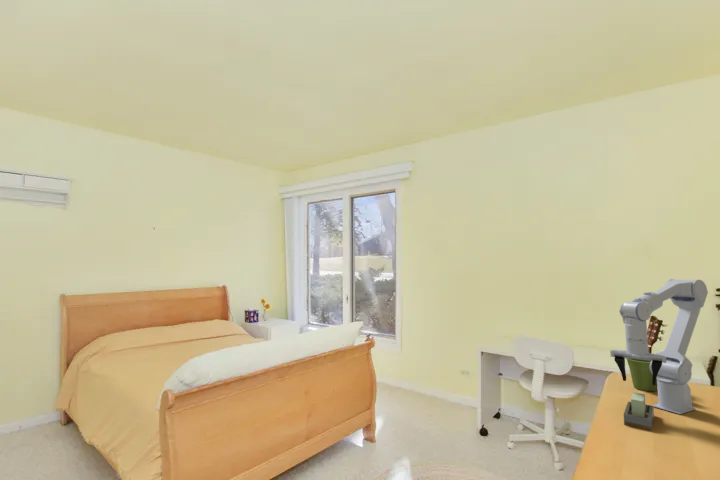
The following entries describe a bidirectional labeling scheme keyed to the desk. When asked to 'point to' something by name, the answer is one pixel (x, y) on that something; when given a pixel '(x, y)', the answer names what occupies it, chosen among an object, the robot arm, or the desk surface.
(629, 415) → the grey rectangular tray
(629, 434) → the desk surface
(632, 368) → the plant pot
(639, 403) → the pale green rectangular block
